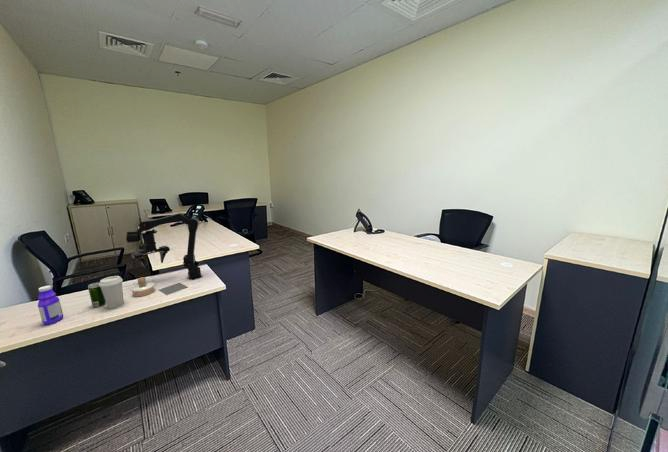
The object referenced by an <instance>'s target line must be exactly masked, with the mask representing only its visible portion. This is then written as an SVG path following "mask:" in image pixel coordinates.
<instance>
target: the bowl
mask: <svg viewBox="0 0 668 452" xmlns="http://www.w3.org/2000/svg"><path fill="white" fill-rule="evenodd" d="M154 291H155V286H154V287H152V288H150V289H148V290H145V291H140V292H133V291H132V295H133V296H134V297H144V296H148V295H151V294H153V293H154Z"/></svg>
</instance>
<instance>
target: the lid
mask: <svg viewBox="0 0 668 452" xmlns="http://www.w3.org/2000/svg"><path fill="white" fill-rule="evenodd" d="M137 283H138V284H136V285H134V286H132V287H131V288H130V291H131V292H132V293H133V292H140V291H145V290H148V289H150V288H152V287H154V288H155V285H156V284H155V282H153V281H147V280H146V276H142V277H139V278H137Z"/></svg>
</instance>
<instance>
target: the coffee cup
mask: <svg viewBox="0 0 668 452" xmlns="http://www.w3.org/2000/svg"><path fill="white" fill-rule="evenodd" d="M99 282H100V283H99V286H100V287H101V290H102V292H103V295H104V298H105V300H106V305H107V308H108V309H109V310H111V309H112V310H113V309H116V308H117V309H118V308H120V307H123V305H125V300H124V291H123V282H124V280H123V278H122V277H121V276H119V275H114V276H113V275H112V276H107V277H105V278H102V279H100V281H99Z"/></svg>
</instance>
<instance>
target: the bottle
mask: <svg viewBox="0 0 668 452" xmlns="http://www.w3.org/2000/svg"><path fill="white" fill-rule="evenodd" d="M37 299H38V303H37V308H38V312H39V316H40V318H41V322H42V324H43V325H52V324H55V323H57V322H59V321H61V320H62V319H63V318H64V312H63V308H62V304H61V300H60V298H59V297H58V296H57V293H56V292H54V290H53V288H52V285H44V286H41V287H39V288H38V297H37Z"/></svg>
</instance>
